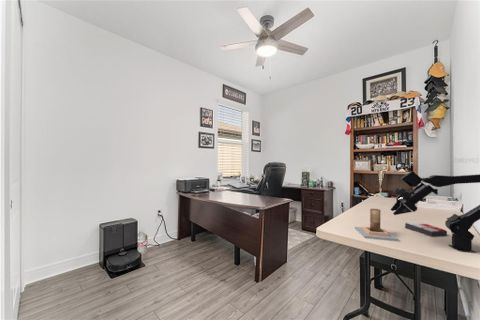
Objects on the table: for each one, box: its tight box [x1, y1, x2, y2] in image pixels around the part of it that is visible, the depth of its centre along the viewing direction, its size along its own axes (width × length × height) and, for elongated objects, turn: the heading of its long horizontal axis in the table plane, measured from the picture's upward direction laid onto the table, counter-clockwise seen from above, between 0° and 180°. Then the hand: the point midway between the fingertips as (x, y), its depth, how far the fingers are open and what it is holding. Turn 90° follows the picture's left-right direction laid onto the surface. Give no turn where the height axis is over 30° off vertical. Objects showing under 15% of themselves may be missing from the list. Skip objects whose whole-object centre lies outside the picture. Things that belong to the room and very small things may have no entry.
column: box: [369, 208, 382, 232], centre depth 111 cm, size 5×5×13 cm
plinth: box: [354, 225, 400, 242], centre depth 111 cm, size 16×16×2 cm
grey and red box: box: [404, 221, 448, 238], centre depth 118 cm, size 11×4×15 cm
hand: (392, 212), depth 108 cm, fingers open, 9 cm apart
